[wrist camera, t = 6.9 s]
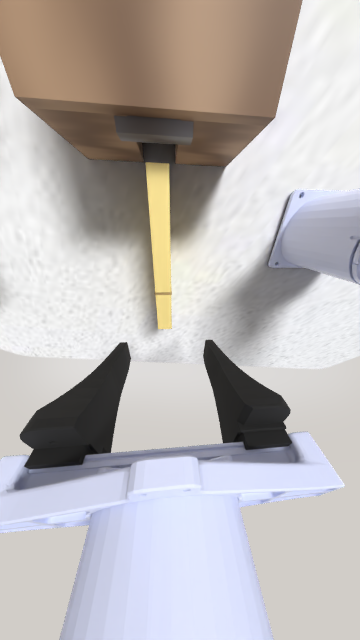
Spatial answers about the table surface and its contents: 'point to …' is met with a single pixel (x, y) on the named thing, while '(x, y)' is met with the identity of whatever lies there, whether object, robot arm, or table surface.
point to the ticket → (160, 238)
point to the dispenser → (150, 72)
